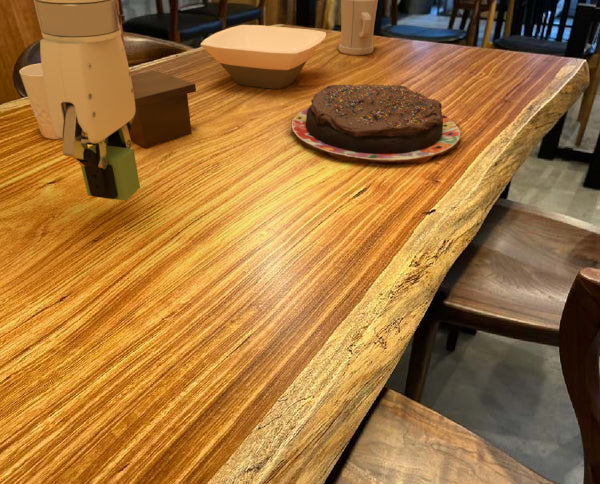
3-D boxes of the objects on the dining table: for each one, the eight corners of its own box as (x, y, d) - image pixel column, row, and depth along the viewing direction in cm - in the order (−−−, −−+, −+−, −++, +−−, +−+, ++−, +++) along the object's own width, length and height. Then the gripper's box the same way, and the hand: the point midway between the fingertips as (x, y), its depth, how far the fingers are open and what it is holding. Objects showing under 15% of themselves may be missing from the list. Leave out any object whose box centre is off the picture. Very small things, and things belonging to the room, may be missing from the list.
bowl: (301, 102, 103) (302, 54, 97) (194, 89, 108) (189, 44, 103) (333, 72, 119) (334, 31, 114) (238, 63, 125) (236, 23, 120)
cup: (385, 52, 135) (391, -2, 127) (364, 59, 129) (369, 3, 122) (352, 45, 140) (355, -7, 133) (330, 51, 135) (333, -3, 127)
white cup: (69, 121, 93) (53, 59, 87) (98, 130, 89) (84, 67, 83) (28, 134, 88) (8, 69, 82) (57, 145, 84) (39, 78, 78)
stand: (105, 134, 88) (95, 83, 83) (161, 117, 95) (154, 70, 90) (144, 152, 82) (134, 99, 77) (200, 133, 89) (195, 83, 84)
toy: (87, 195, 63) (78, 155, 60) (103, 182, 66) (94, 143, 63) (126, 201, 62) (118, 160, 59) (140, 187, 65) (133, 148, 62)
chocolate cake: (478, 169, 79) (488, 125, 75) (287, 166, 79) (287, 121, 75) (441, 107, 101) (447, 71, 97) (293, 105, 101) (293, 68, 97)
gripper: (89, 2, 60) (118, 158, 71) (-11, 33, 47) (44, 217, 58) (151, 7, 59) (171, 164, 70) (66, 40, 46) (107, 227, 57)
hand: (113, 187), depth 64 cm, fingers closed on toy, 3 cm apart
